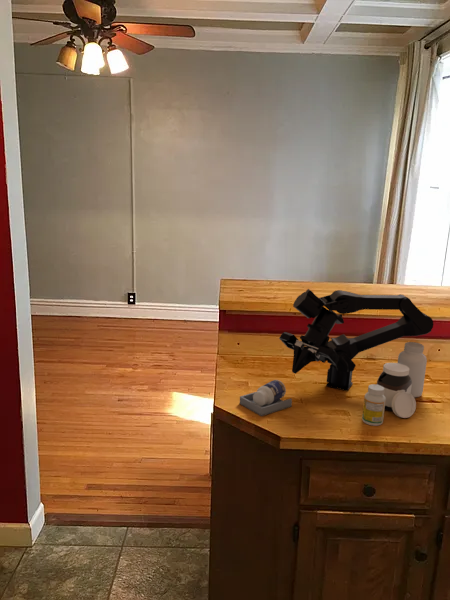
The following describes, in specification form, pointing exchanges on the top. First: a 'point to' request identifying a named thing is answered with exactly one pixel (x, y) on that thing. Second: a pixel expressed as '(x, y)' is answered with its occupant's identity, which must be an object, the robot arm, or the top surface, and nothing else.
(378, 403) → the supplement bottle
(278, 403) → the tray
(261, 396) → the pill bottle
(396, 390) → the spread jar
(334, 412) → the top surface
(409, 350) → the pill bottle
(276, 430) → the top surface
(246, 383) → the top surface
